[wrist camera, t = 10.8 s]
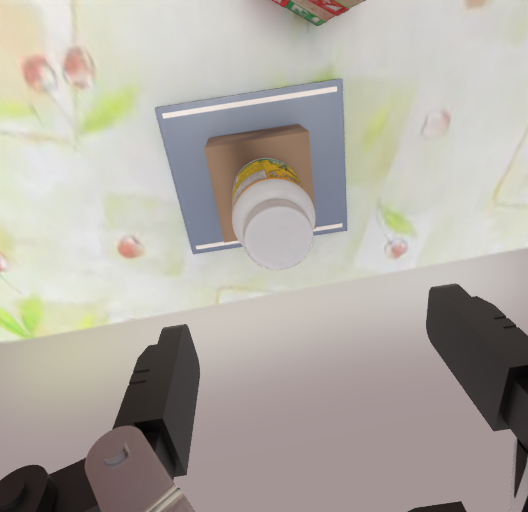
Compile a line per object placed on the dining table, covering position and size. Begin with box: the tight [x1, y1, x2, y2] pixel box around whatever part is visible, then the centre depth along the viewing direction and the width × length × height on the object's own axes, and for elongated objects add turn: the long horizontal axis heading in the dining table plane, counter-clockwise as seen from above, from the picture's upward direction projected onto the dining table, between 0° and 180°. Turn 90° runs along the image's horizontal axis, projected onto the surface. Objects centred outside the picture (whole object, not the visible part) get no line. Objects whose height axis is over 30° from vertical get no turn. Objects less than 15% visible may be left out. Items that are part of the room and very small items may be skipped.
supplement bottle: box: [232, 158, 315, 270], centre depth 24 cm, size 5×5×10 cm
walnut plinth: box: [204, 124, 316, 243], centre depth 31 cm, size 8×8×5 cm
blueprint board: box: [155, 79, 347, 254], centre depth 33 cm, size 16×14×1 cm
